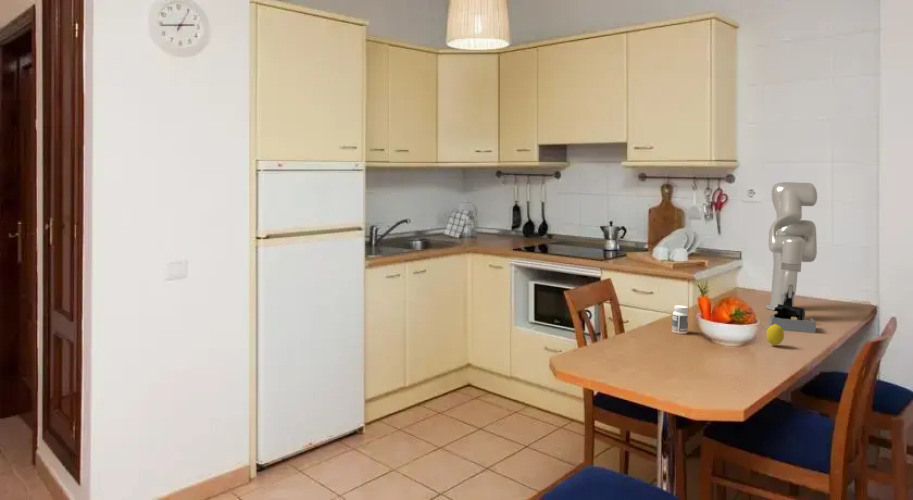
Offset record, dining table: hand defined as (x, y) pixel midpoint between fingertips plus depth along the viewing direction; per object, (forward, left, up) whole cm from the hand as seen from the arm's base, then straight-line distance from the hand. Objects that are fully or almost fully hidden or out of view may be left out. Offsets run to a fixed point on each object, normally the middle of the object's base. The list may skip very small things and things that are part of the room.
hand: (787, 310), depth 287 cm
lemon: (+54, -9, -4) cm, 55 cm away
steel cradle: (+20, 0, -3) cm, 20 cm away
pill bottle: (+48, -41, -4) cm, 63 cm away
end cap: (+7, 0, -4) cm, 8 cm away
